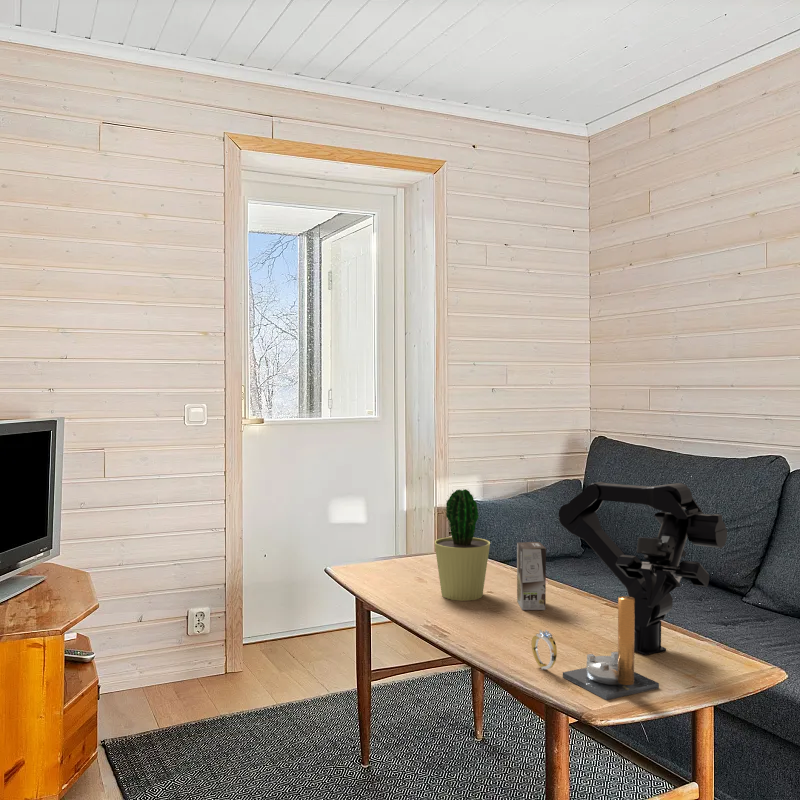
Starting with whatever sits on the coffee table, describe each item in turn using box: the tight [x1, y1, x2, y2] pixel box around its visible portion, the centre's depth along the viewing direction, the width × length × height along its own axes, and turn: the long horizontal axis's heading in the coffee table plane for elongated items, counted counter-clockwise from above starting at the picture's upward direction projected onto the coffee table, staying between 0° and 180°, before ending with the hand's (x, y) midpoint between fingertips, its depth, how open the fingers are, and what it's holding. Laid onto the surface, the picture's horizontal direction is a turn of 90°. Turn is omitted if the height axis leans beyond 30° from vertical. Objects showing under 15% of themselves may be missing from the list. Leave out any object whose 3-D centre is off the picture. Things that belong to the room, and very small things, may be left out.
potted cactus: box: [434, 488, 491, 602], centre depth 225 cm, size 15×15×30 cm
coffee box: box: [516, 541, 547, 611], centre depth 215 cm, size 9×6×16 cm
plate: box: [562, 667, 660, 701], centre depth 161 cm, size 13×13×1 cm
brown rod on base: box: [586, 595, 635, 685], centre depth 159 cm, size 12×9×17 cm
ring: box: [531, 629, 558, 671], centre depth 168 cm, size 7×3×8 cm, turn 22°
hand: (649, 606), depth 167 cm, fingers closed
